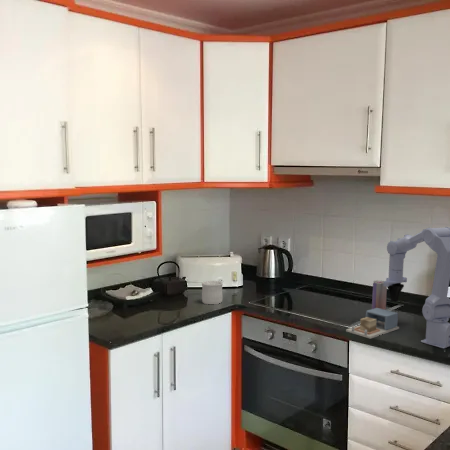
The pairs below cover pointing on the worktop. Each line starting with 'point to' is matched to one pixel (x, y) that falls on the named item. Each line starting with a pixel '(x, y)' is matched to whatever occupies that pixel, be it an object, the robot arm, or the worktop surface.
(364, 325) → the birch block
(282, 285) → the worktop surface
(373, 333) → the base plate
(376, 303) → the beverage can
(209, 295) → the cup
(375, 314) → the housing
